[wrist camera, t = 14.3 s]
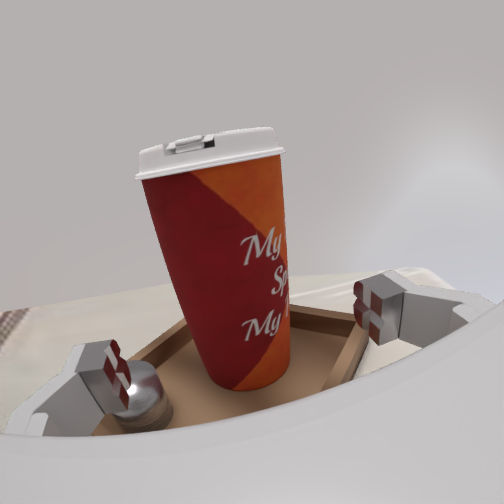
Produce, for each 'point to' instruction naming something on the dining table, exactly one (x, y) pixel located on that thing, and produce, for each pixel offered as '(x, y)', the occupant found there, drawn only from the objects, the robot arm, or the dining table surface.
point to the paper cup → (225, 248)
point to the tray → (244, 402)
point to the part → (145, 401)
